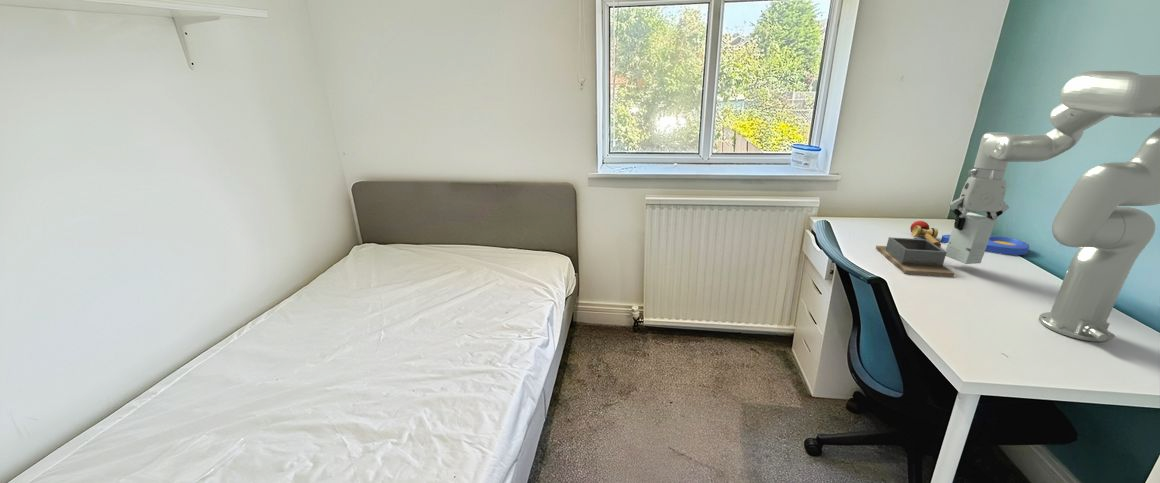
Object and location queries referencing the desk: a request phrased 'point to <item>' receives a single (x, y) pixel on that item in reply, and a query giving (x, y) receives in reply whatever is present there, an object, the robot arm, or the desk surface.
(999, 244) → the location marker
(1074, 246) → the robot arm
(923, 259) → the square box holder
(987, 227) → the skincare box
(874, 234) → the desk surface
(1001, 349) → the desk surface
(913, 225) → the kendama
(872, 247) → the desk surface
